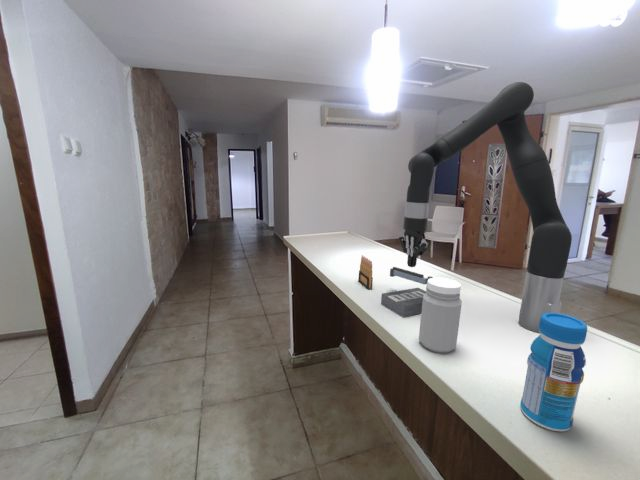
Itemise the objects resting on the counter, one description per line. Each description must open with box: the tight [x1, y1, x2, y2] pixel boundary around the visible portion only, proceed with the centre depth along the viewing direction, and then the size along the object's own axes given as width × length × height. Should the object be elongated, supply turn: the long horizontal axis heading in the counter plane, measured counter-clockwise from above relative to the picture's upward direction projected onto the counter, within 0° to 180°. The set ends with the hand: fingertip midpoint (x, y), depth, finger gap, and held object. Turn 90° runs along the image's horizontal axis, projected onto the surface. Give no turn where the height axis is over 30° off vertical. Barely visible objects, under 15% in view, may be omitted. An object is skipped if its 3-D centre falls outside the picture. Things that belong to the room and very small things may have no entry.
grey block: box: [380, 275, 434, 319], centre depth 109 cm, size 12×18×10 cm
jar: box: [418, 276, 463, 354], centre depth 83 cm, size 10×10×18 cm
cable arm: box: [389, 266, 428, 285], centre depth 119 cm, size 2×15×4 cm, turn 41°
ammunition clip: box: [357, 255, 374, 291], centre depth 130 cm, size 11×2×12 cm, turn 15°
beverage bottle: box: [519, 313, 588, 432], centre depth 58 cm, size 8×8×20 cm
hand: (411, 266), depth 107 cm, fingers closed
